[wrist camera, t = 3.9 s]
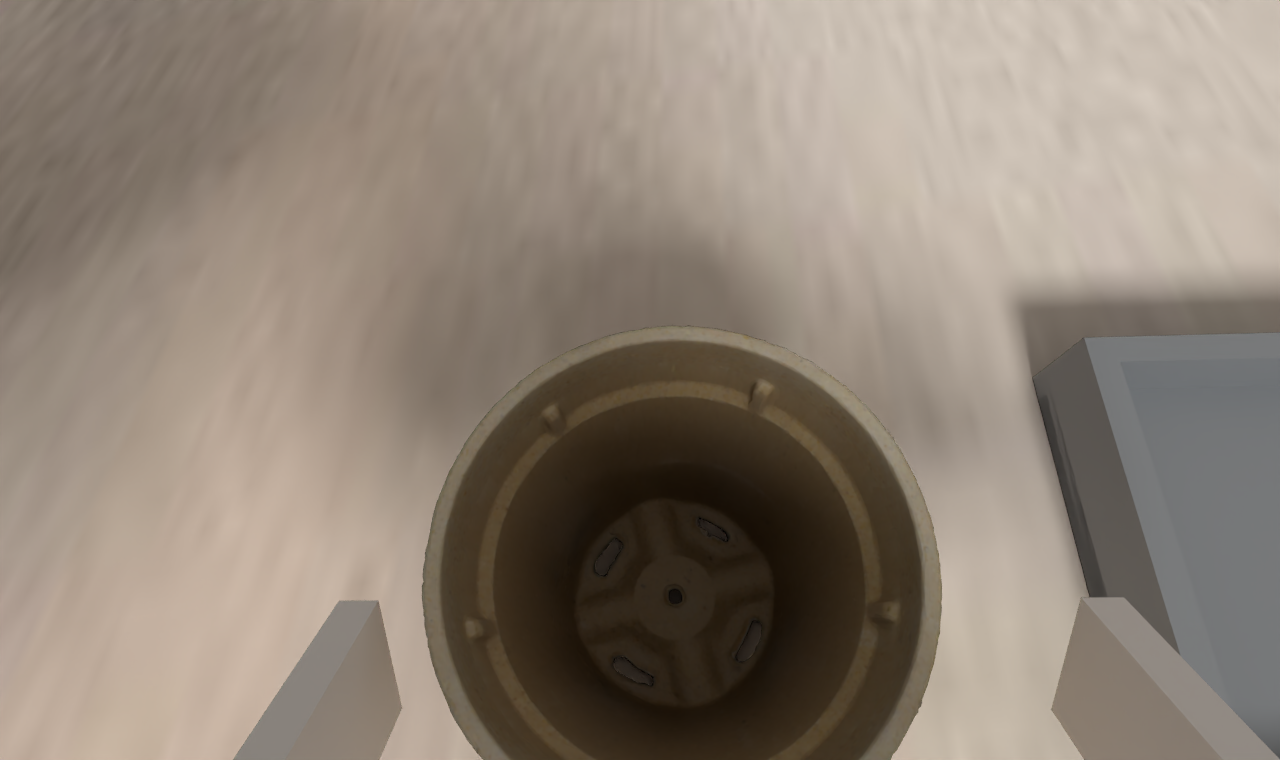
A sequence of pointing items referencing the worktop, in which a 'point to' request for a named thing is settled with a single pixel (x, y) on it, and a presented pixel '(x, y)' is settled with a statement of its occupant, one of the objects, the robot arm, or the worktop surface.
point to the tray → (1180, 496)
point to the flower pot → (682, 561)
